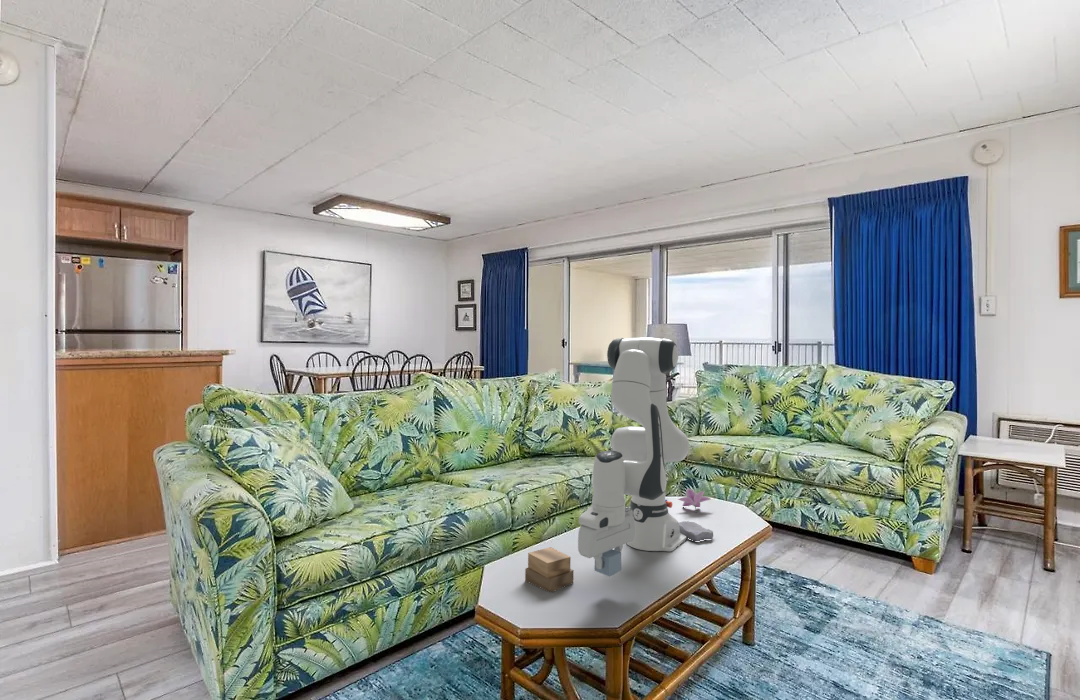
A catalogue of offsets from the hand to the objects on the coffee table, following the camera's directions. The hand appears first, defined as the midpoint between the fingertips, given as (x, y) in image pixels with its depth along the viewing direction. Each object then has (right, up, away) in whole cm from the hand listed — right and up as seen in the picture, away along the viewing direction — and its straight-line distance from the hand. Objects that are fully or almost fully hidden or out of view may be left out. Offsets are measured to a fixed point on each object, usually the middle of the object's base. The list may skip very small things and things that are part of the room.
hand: (607, 564), depth 150 cm
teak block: (-16, -4, +7) cm, 18 cm away
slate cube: (0, -2, 0) cm, 2 cm away
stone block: (+37, -8, +47) cm, 60 cm away
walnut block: (-15, -8, +7) cm, 19 cm away
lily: (+44, -8, +76) cm, 89 cm away
